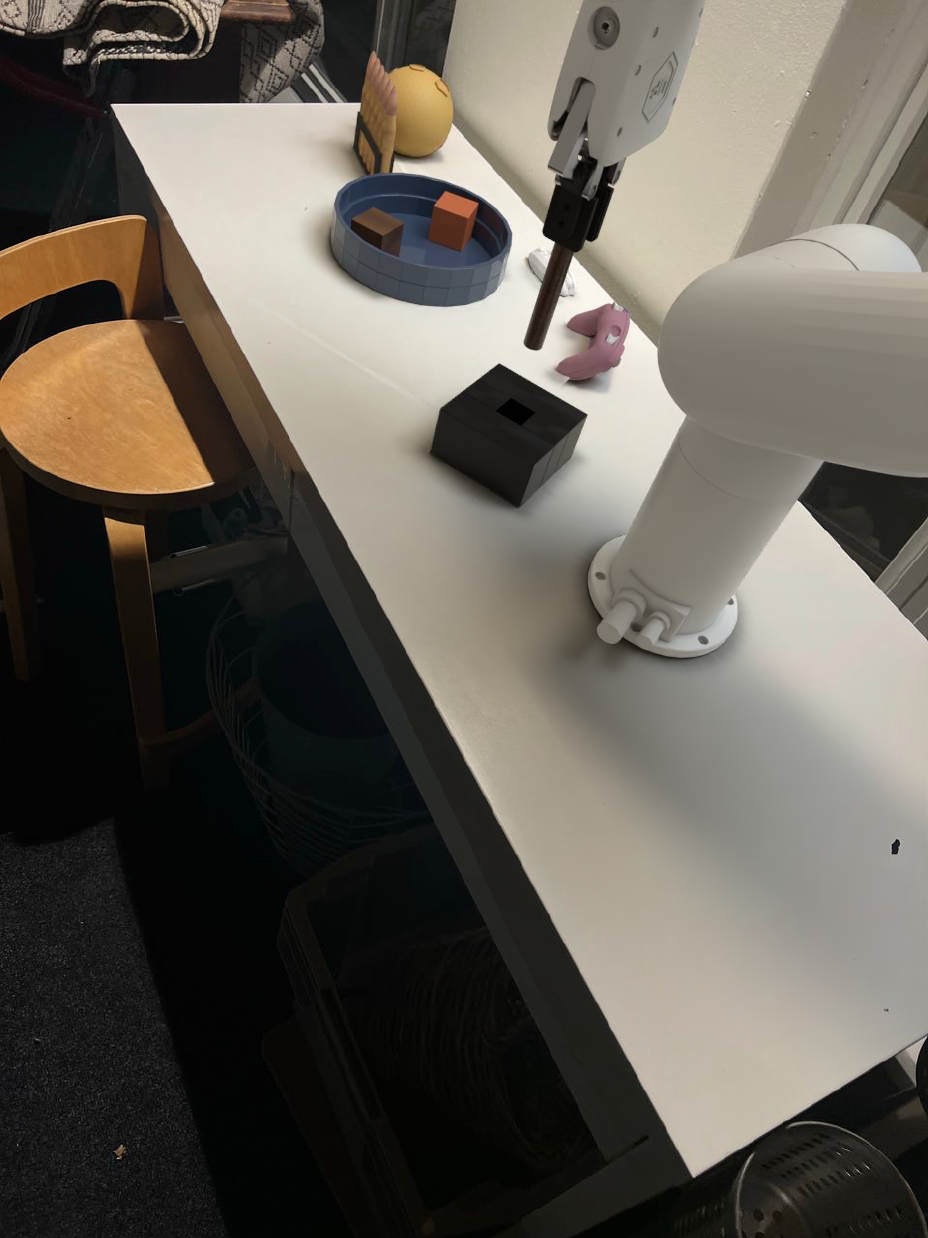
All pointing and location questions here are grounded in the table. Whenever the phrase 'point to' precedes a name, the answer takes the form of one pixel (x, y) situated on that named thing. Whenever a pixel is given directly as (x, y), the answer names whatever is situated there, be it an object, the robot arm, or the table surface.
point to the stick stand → (507, 434)
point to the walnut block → (379, 230)
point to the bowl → (420, 242)
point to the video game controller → (597, 341)
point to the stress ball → (421, 111)
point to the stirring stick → (549, 294)
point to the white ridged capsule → (539, 265)
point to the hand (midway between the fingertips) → (569, 236)
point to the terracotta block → (452, 221)
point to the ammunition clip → (376, 120)
